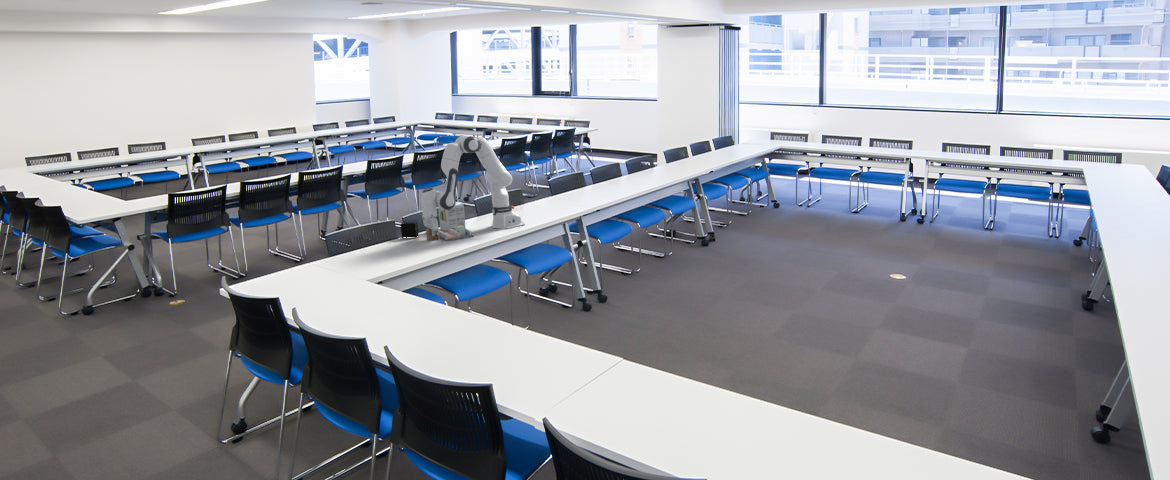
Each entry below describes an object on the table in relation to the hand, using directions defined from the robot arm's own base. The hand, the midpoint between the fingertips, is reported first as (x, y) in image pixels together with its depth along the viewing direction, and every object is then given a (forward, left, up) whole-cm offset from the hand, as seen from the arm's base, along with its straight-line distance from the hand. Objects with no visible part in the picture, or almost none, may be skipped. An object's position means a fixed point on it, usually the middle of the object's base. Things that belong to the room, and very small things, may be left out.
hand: (431, 234), depth 487 cm
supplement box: (-21, -20, -3) cm, 29 cm away
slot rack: (-15, +1, -3) cm, 15 cm away
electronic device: (+10, -15, -3) cm, 18 cm away
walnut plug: (0, 0, -3) cm, 3 cm away
